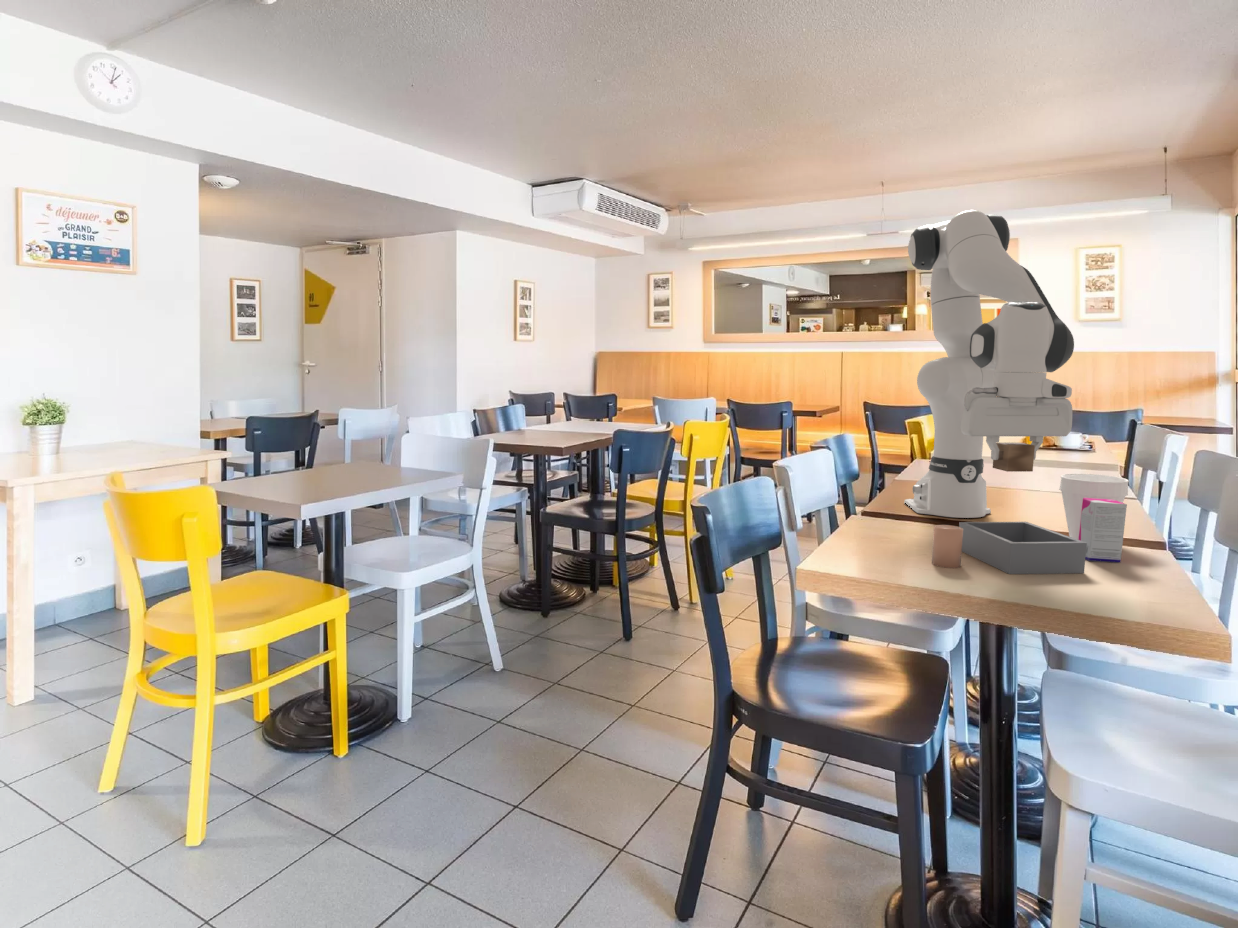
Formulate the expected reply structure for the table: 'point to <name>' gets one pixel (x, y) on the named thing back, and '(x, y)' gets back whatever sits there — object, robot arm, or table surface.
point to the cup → (1088, 494)
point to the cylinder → (947, 546)
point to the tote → (1023, 548)
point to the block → (1015, 457)
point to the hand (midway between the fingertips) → (1012, 459)
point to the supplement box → (1102, 529)
